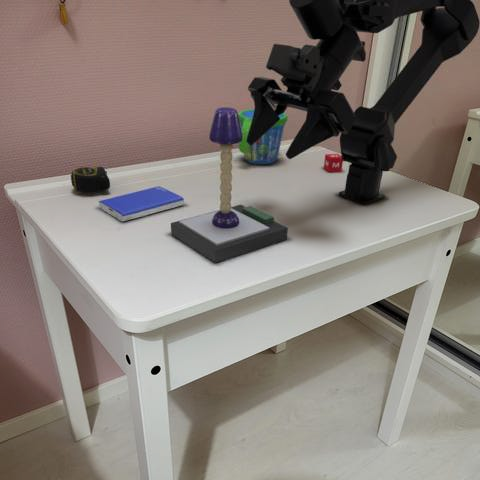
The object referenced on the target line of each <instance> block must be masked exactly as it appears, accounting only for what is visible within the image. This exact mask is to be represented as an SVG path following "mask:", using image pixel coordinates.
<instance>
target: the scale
mask: <svg viewBox="0 0 480 480" xmlns="http://www.w3.org/2000/svg"><path fill="white" fill-rule="evenodd" d="M218 211H220V209H217V210H215V211H211V212H207V213H203V214H199V215H196V216H191V217H189V218H184V219H180V220H177V221H176V220H175V221H173V222H170V234H171V236H173V237H174V238H176V239H177V240H179V241H181V242H182V243H183V244H185V245H187V246H188V247H190V248H191V249H193V250H195V252H197V253H199V254H201V255H202V256H204V257H205V258H207V259H208V260H210V261H212V262H213V263H214V264H217V263H220V262H223V261H226V260H229V259H231V258H235V257H238V256H242V255H244V254H247V253H250V252H253V251H256V250H260V249H262V248H265V247H268V246H271V245H275V244H277V243H280V242H282V241H286V240H288V234H289V233H288V231H289V227H287V226H285V225H284V224H281V223H279V222H277V221H276V220H275V217H274V216H273V215H271V214H269V213H267V212H264V211H262V210H261V209H258V208H256V207H254V206H253V205H247V206H245V205H242V204H237V205H234V206H231V210H230V211H233V212H234V213H236V214H237V216H238V218H239V225H238V226H236V227H233V228H219V227H216V226H214V225H213V223H212V219H213V216H214V215H215V214H216V213H217V212H218Z"/></svg>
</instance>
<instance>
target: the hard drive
mask: <svg viewBox="0 0 480 480" xmlns="http://www.w3.org/2000/svg"><path fill="white" fill-rule="evenodd" d="M184 199H185V198H184V197H183V196H182V195H179V194H177V193H175V192H173V191H171V190H169V189H167V188H164V187H162V186H161V185H158V186H154V187H149V188H146V189H142V190H137V191H132V192H130V193H126V194H122V195H117V196H112V197H109V198H105V199H102V200H101V199H100V200H99V201H98V207H99V209H100V210H102V211H104V212H105V213H107V214H108V215H110V216H112V217H114V218H115V219H117V220H119V221H120V222H126V221H130V220H134V219H137V218H141V217H146V216H148V215H151V214H152V215H153V214H155V213H159V212H163V211H167V210H170V209H173V208H177V207H181V206H184V205H185V200H184Z"/></svg>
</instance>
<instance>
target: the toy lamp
mask: <svg viewBox="0 0 480 480" xmlns="http://www.w3.org/2000/svg"><path fill="white" fill-rule="evenodd" d="M238 115H239V113H238V111H237V109H236V108H233V107H227V106H226V107H218V108H216V109H215V111H214V114H213V118H212V122H211V127H210V131H209V140H210V142H212V143H214V144H218V145H219V148H220V155H219V157H220V164H219V165H220V167H219V168H220V172H221V173H220V175H219V179H220V185H219V189H220V194H219V200H220V204H219V210H220V211H218V210H217V211H218V212H217V213H216V214H215V215H214V216H213V219H212V223H213V225H214V226H216V227H219V228H233V227H236V226H238V225H239V218H238V216H237V214H236V213H234V212H233V211H230V210H231V207H232V204H231V202H232V190H233V185H232V181H233V174H232V171H233V163H232V161H233V152H232V150H233V147H234V145H235V144H239V142H241V141H242V131H241V124H240V122H239V117H238Z"/></svg>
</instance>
